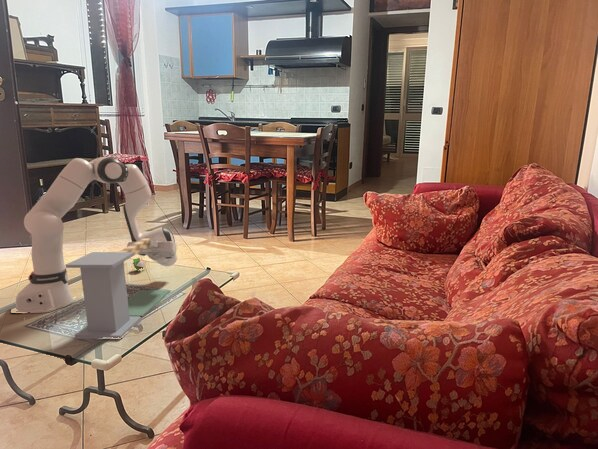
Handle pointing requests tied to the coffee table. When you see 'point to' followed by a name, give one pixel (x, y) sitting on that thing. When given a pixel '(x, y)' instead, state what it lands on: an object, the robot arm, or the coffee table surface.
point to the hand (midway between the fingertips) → (144, 242)
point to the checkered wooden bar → (137, 246)
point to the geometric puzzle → (138, 263)
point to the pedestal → (105, 295)
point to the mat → (144, 301)
